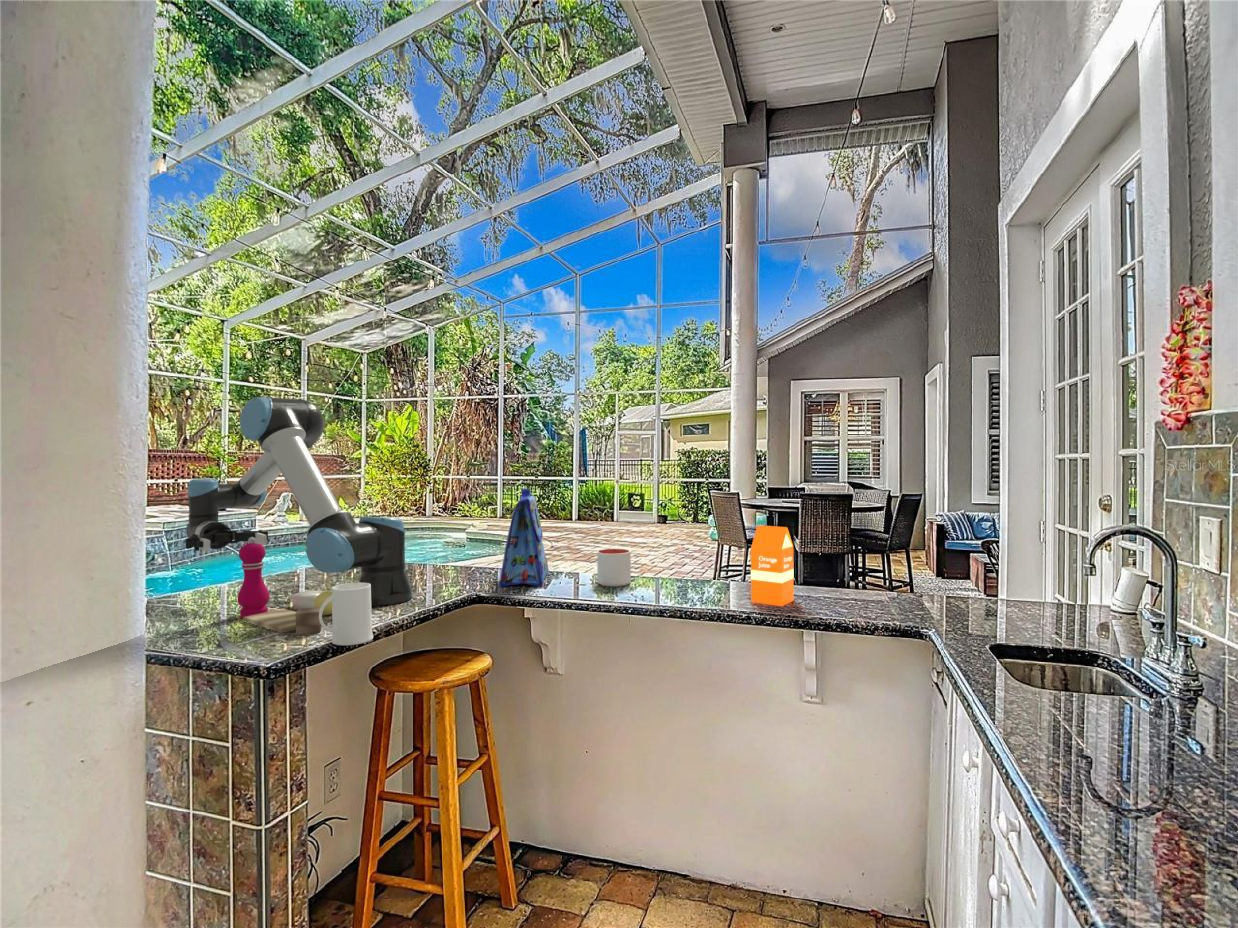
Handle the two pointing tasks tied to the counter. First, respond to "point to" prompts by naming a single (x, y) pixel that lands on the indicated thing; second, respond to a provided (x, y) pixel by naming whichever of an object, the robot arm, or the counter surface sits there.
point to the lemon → (320, 601)
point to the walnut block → (307, 621)
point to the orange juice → (772, 566)
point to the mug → (350, 614)
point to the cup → (614, 567)
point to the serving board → (274, 620)
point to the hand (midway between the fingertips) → (237, 542)
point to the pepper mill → (252, 580)
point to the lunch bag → (524, 546)
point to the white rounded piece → (305, 599)
